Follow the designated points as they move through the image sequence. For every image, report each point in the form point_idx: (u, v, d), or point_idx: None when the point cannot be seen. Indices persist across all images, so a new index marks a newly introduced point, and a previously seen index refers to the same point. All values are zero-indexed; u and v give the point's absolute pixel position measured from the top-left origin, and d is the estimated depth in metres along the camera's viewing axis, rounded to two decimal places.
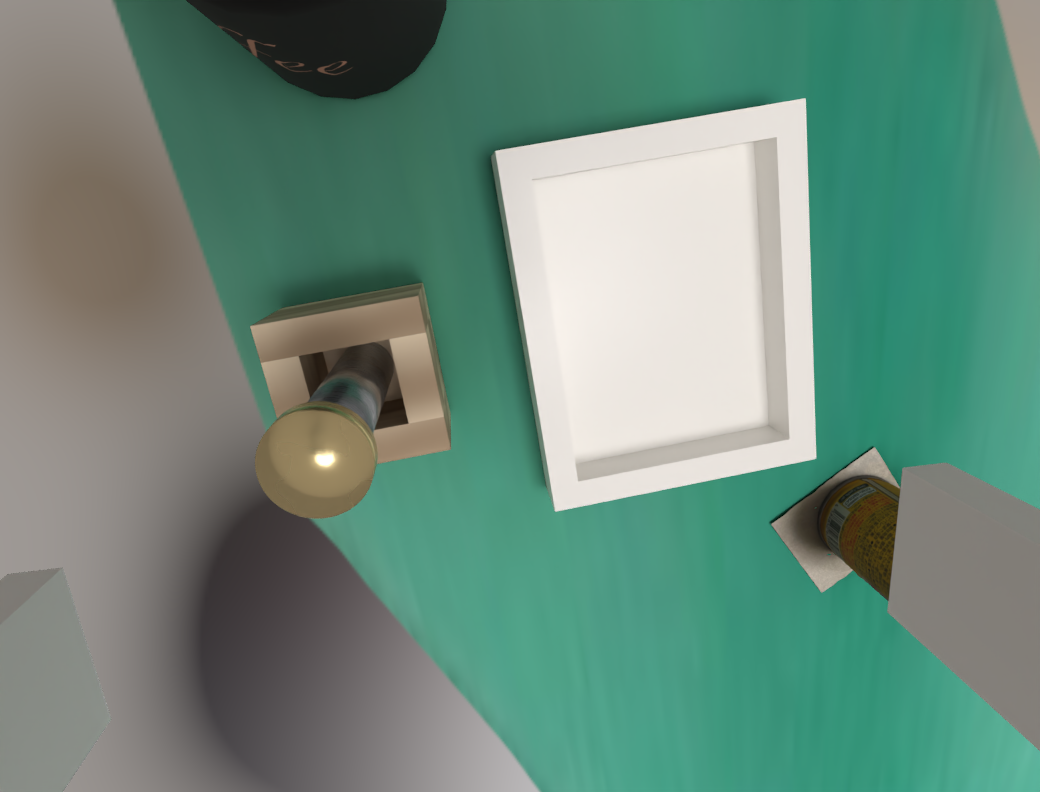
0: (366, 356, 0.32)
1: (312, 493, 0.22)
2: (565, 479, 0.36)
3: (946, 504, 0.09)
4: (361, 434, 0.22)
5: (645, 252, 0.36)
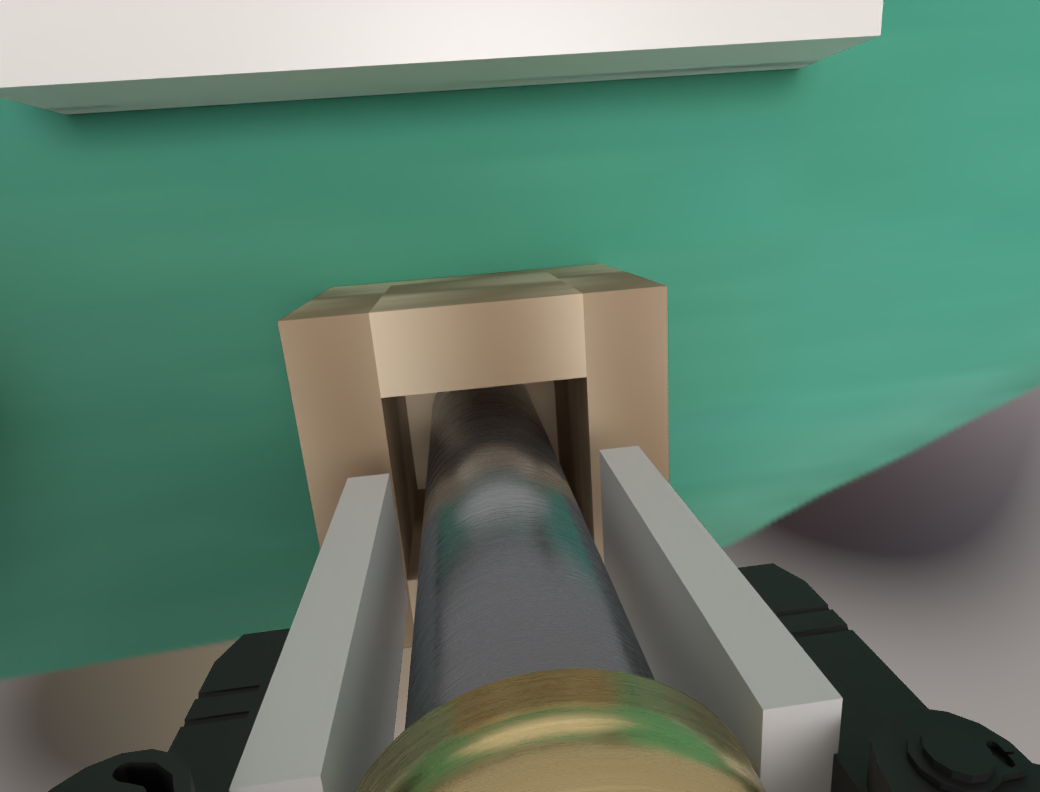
0: (432, 437, 0.15)
1: None
2: None
3: (611, 478, 0.11)
4: None
5: None
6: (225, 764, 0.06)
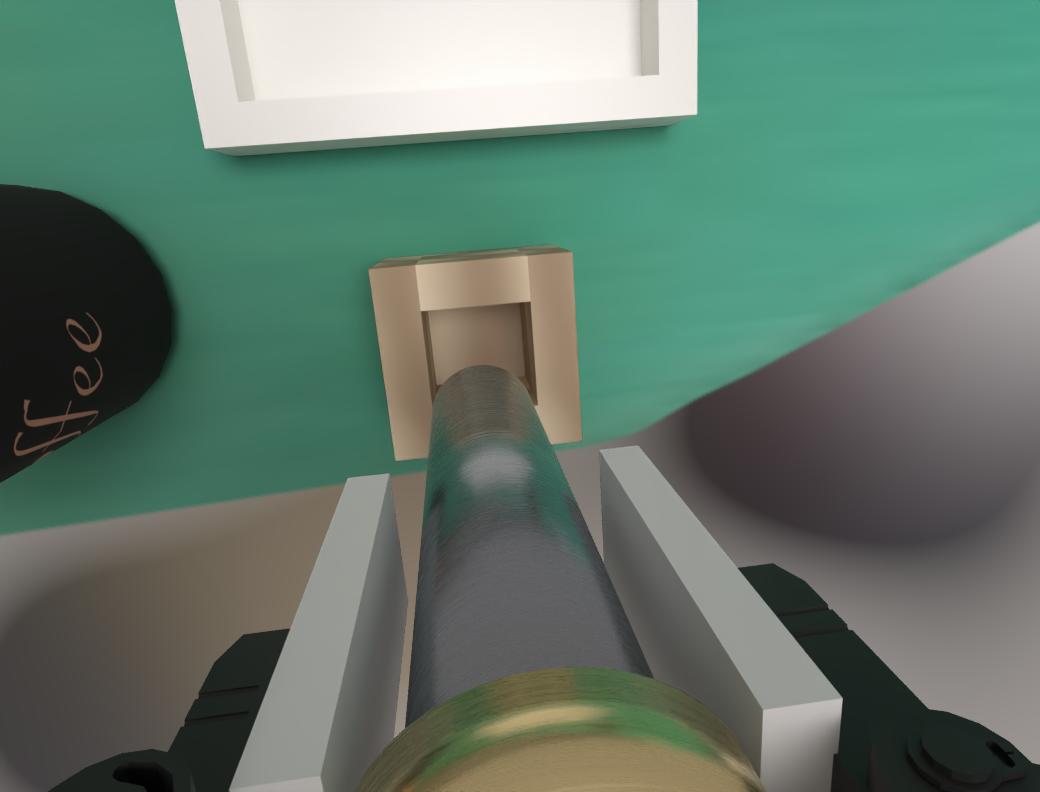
0: (432, 437, 0.15)
1: None
2: (652, 94, 0.26)
3: (611, 478, 0.11)
4: None
5: None
6: (225, 764, 0.06)
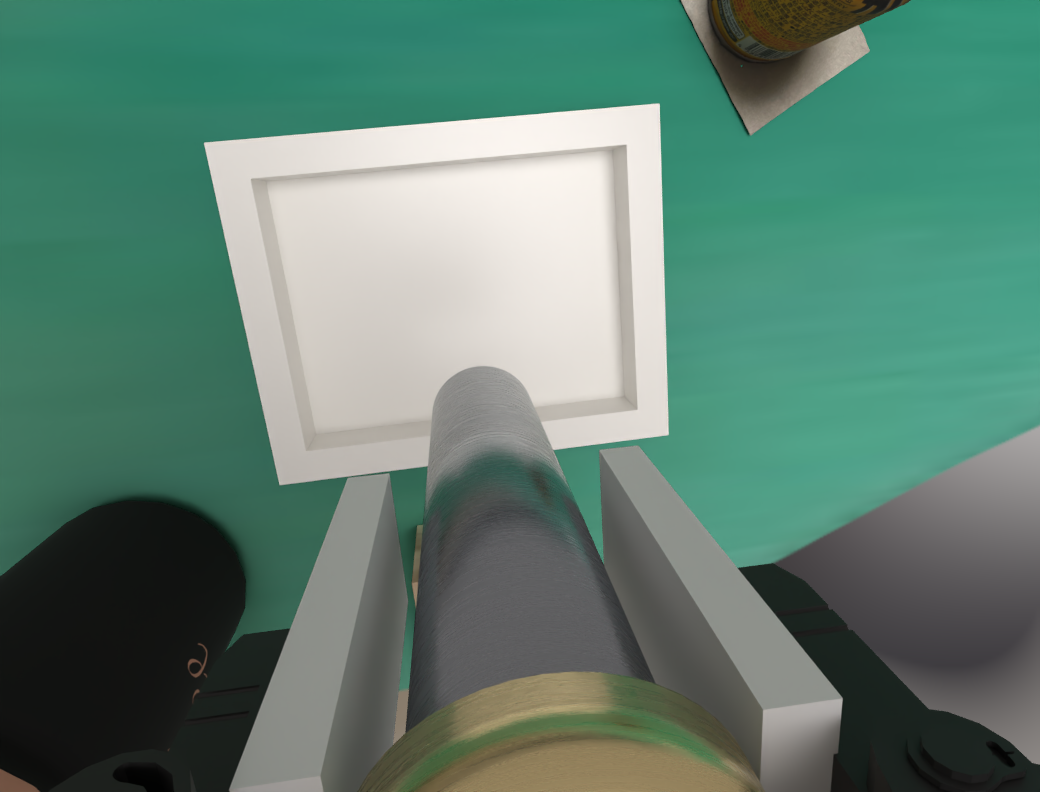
0: (433, 439, 0.15)
1: None
2: (632, 423, 0.33)
3: (611, 478, 0.11)
4: None
5: (391, 310, 0.32)
6: (225, 764, 0.06)
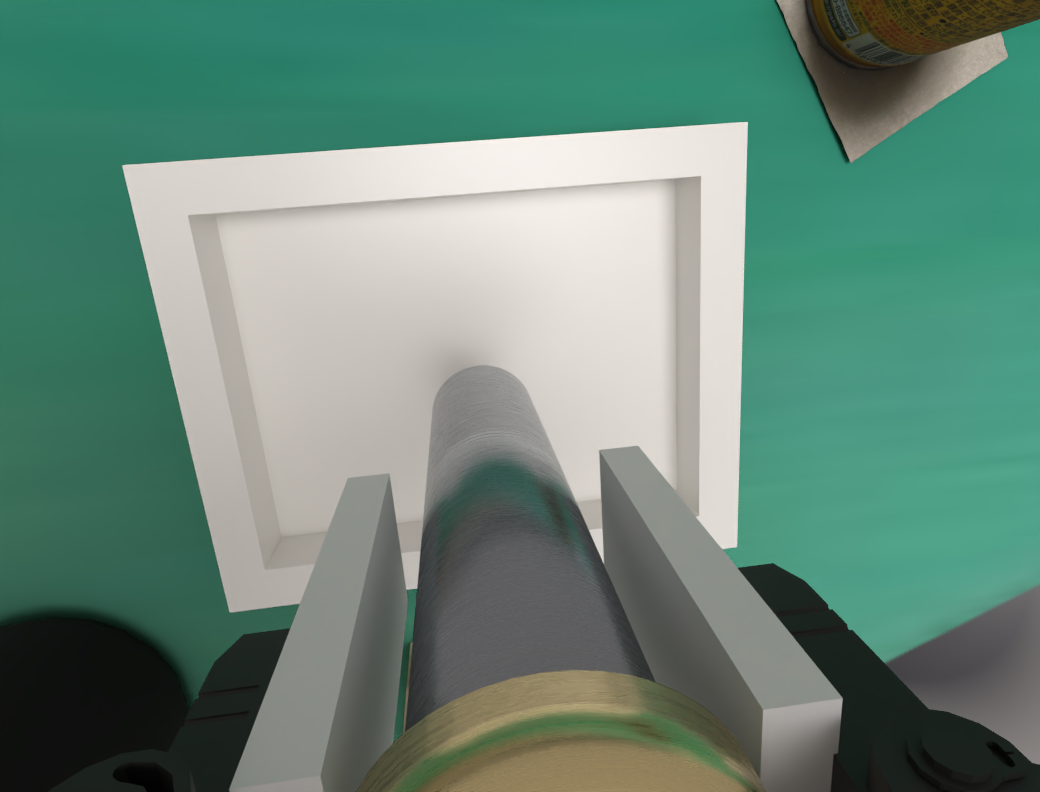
0: (433, 438, 0.15)
1: None
2: None
3: (611, 478, 0.11)
4: None
5: (380, 382, 0.25)
6: (225, 764, 0.06)
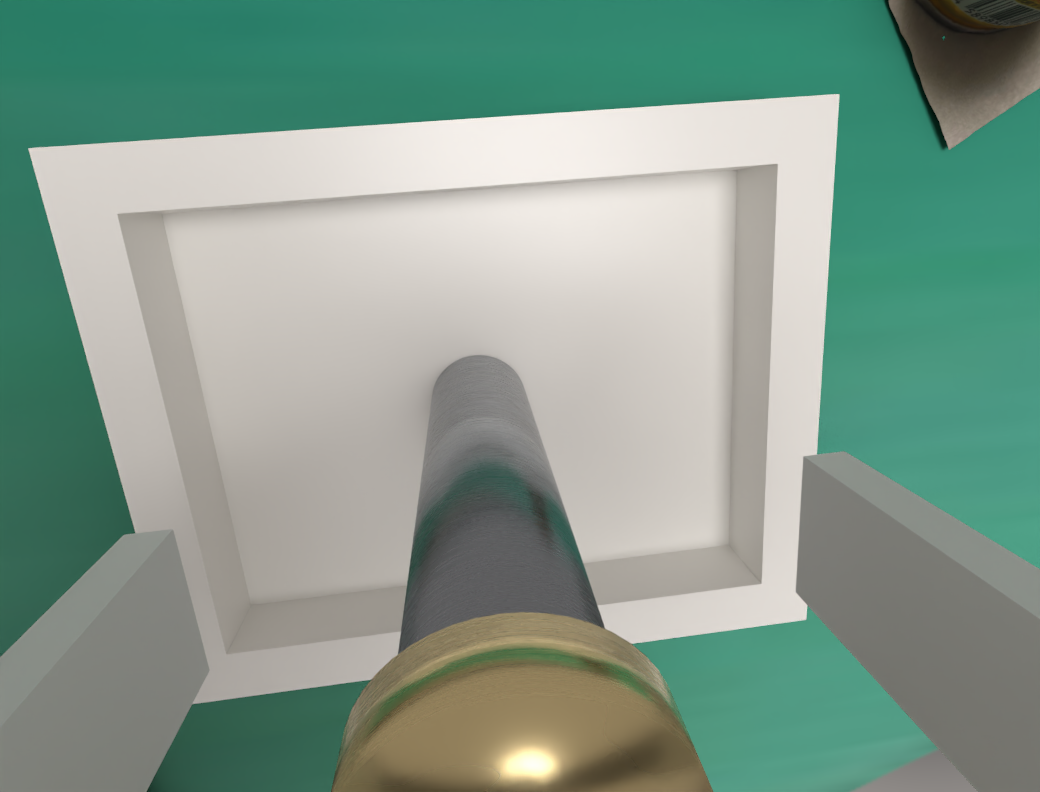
0: (430, 423, 0.16)
1: None
2: (752, 603, 0.21)
3: (835, 488, 0.10)
4: (420, 724, 0.06)
5: (371, 420, 0.20)
6: None
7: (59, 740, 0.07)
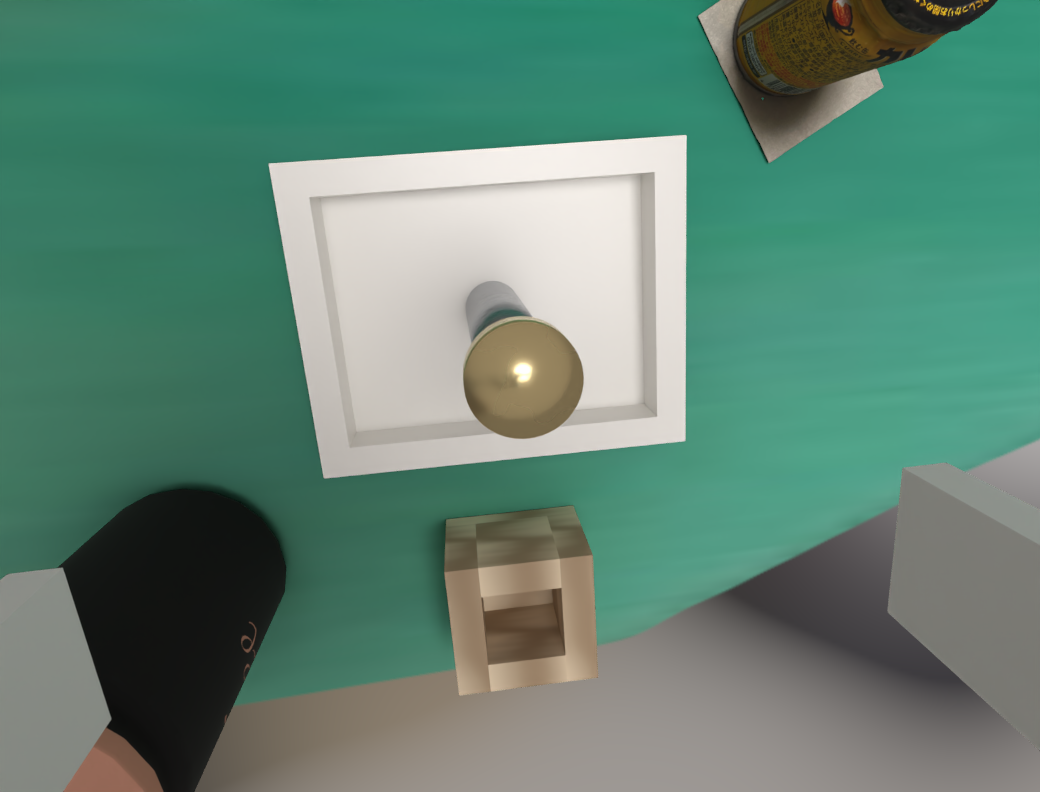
0: (470, 308, 0.31)
1: (554, 389, 0.21)
2: (652, 429, 0.35)
3: (945, 503, 0.09)
4: (495, 330, 0.20)
5: (430, 319, 0.35)
6: None
7: None
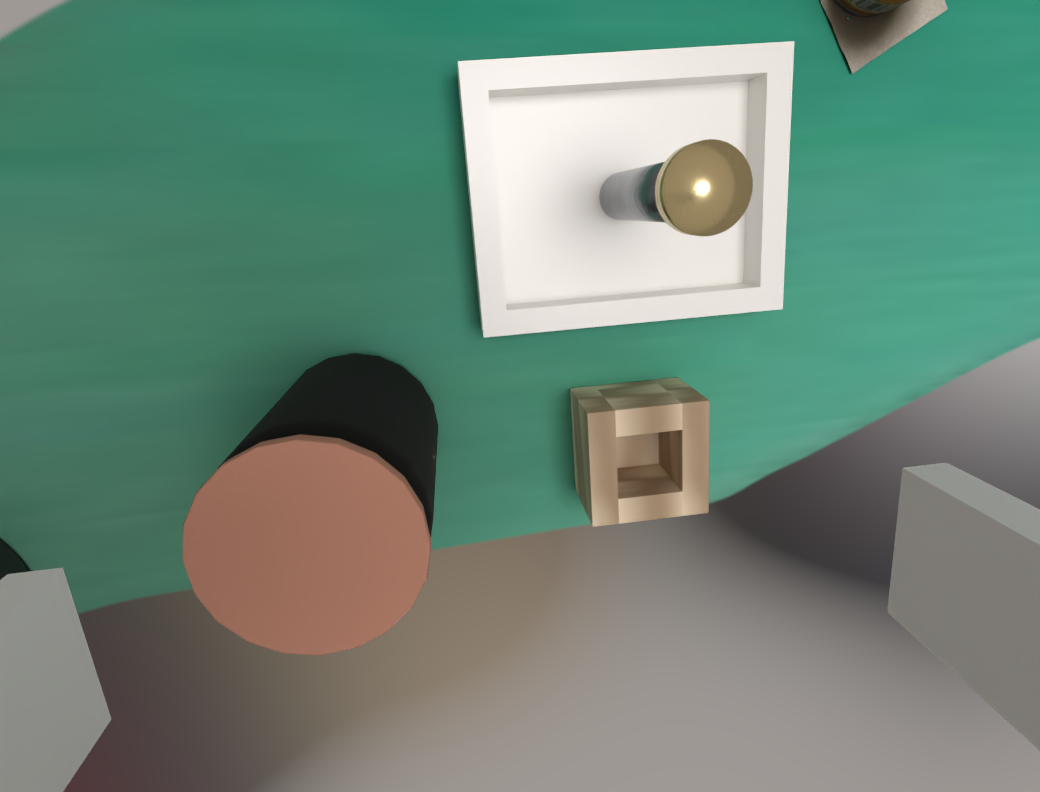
0: (615, 183, 0.38)
1: (729, 195, 0.28)
2: (755, 298, 0.42)
3: (945, 503, 0.09)
4: (690, 145, 0.27)
5: (569, 205, 0.41)
6: None
7: None
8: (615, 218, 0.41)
